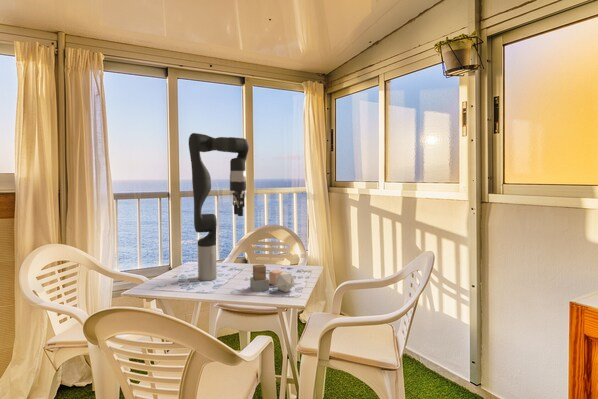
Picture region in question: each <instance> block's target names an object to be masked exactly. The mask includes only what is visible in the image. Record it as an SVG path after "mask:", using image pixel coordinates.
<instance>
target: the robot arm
mask: <svg viewBox="0 0 598 399" xmlns="http://www.w3.org/2000/svg"><path fill="white" fill-rule="evenodd" d="M249 148H250V144H249V141H248V139H246V138H244V137H233V136H229V137H227V136H225V137H224V136H218V137H213V136H210V135H207V134H204V133H197V132H196V133H195V132H192V133H191V134H190V135H189V137H188V150H189V156H190V158H189V159H190V164H191V181H192V183H191V184H192V195H193V225H194V230H195V232H196V233H197V234H198V233H200V234H201V233H207V235H205V236H204V237H202V238H199V239H198V240H197V280H199V281H202V282H205V281H213V280H216V279H217V277H218V276H217V275H218V274H217V271H218V270H217V226H218V224H217V223H218V222H217V220H218V219H217V216H216V214H214V213H202V208H203V206H204V202H205V201H206V199H207V197H208V196H209V194H210V192H211V191H212V190H211V189H212V181H211V179H212V178H211V174H210V172H209V169H207V167H206V165H205V164H204V162H203V160H202V157H201V153H206V152H207V153H209V152H215V151H216V152H222V153H223V152H224V153H231V154H237V155H236V157H234V158H231V159H230V161H229V166H230V170H229V171H230V172H229V191H230V192H232V206H233V214H234V215H237V216H238V217H243V216H244V207H245V206H246V205H245V193H243V192H246V191H247V173H246V162H247V159H248V158H247V157H248V154H249V150H250V149H249Z"/></svg>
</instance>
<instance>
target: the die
mask: <svg viewBox="0 0 598 399" xmlns="http://www.w3.org/2000/svg"><path fill="white" fill-rule="evenodd" d="M274 280H275V282H276V287H277V290H278V291H280V292H285V293H288V292H289V291H290V290H291V289H292V288H293V287H294V286H296V283H295V281H294V277H293V275H292V273H290V272H286V271H283V272H282V273H281V274H280V275H279V276H278V277H276V278H275V279H274Z"/></svg>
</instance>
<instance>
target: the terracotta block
mask: <svg viewBox="0 0 598 399" xmlns="http://www.w3.org/2000/svg"><path fill="white" fill-rule="evenodd" d="M282 272H284V271H283V270H279V269H275V270H269V272H268V279H269V285H272V286H276V287H277V285H276V282H275V280H274V279H275V278H276V277H278V276H279V275H280V274H281V273H282Z"/></svg>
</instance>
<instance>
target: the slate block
mask: <svg viewBox="0 0 598 399" xmlns="http://www.w3.org/2000/svg"><path fill="white" fill-rule="evenodd" d="M249 282H250V283H249V286H250V289H251V290H252V291H253V292H254V293H255V292H256V293H257V292H263V291H270V284H269V277H268V278H267V277H266V279H265V280H255V279H254V278H253V276H251V277H249Z"/></svg>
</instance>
